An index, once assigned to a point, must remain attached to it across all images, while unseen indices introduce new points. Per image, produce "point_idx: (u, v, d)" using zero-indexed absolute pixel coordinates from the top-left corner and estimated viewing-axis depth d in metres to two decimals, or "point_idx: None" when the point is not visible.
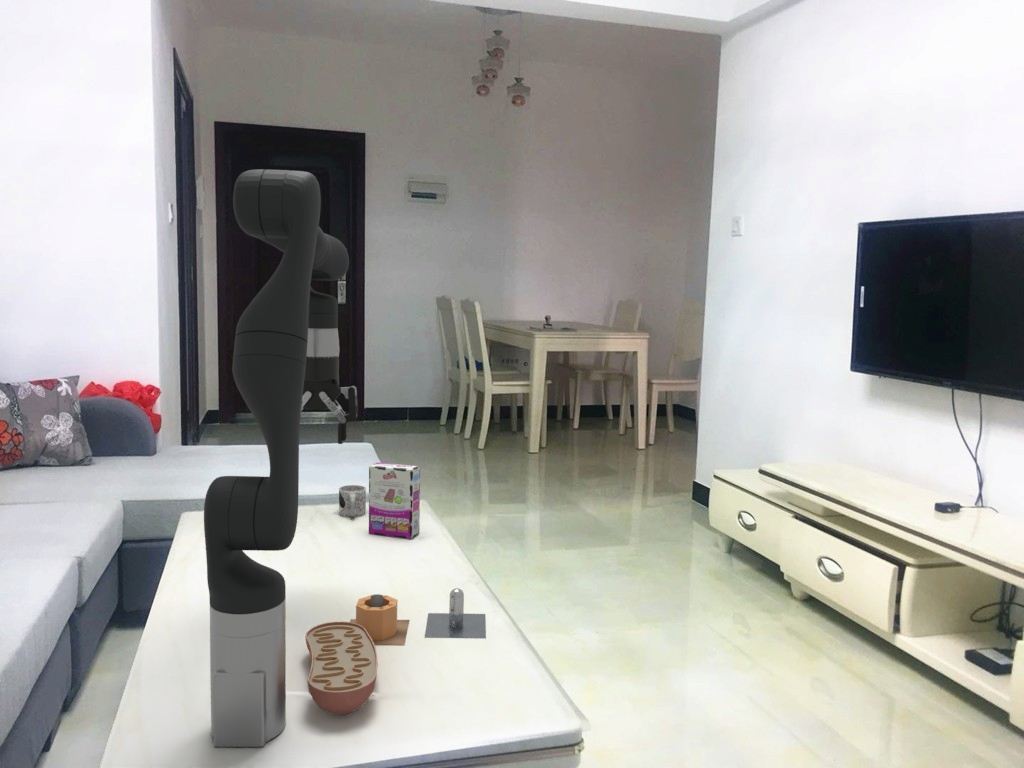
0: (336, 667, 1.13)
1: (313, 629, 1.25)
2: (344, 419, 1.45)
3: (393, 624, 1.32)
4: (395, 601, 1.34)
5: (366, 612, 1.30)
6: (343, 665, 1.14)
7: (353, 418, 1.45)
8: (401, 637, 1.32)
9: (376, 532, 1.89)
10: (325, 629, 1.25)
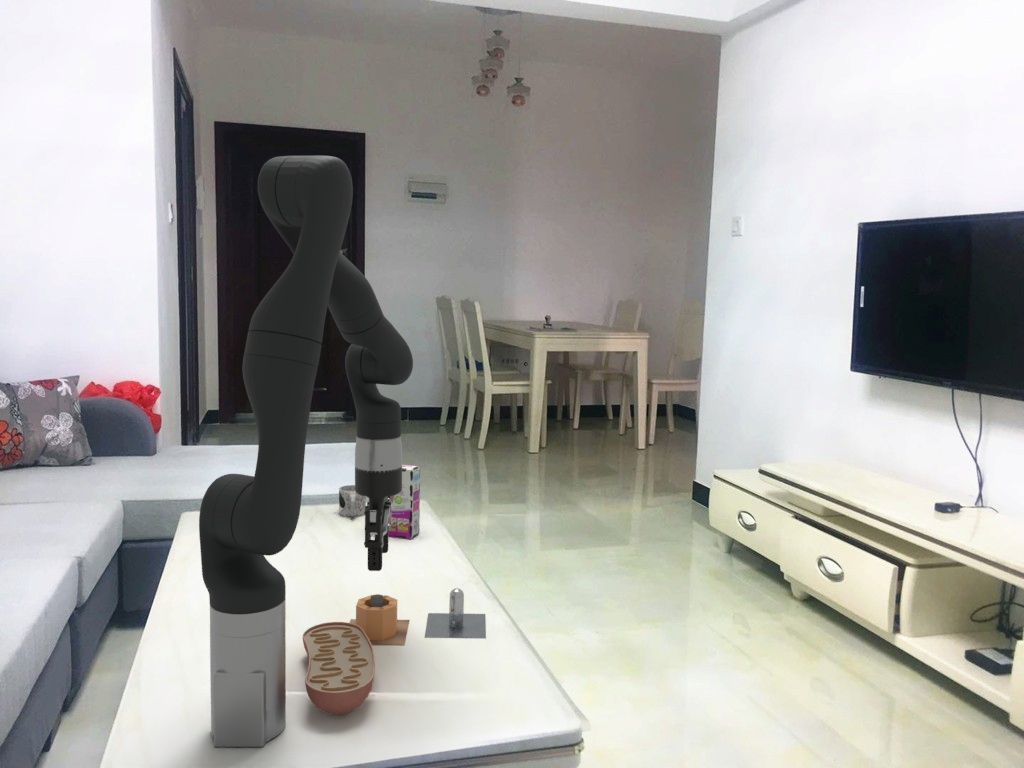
0: (333, 667, 1.13)
1: (310, 629, 1.25)
2: (389, 524, 1.37)
3: (393, 624, 1.32)
4: (395, 601, 1.34)
5: (366, 612, 1.30)
6: (340, 665, 1.14)
7: None
8: (401, 637, 1.32)
9: None
10: (322, 629, 1.25)
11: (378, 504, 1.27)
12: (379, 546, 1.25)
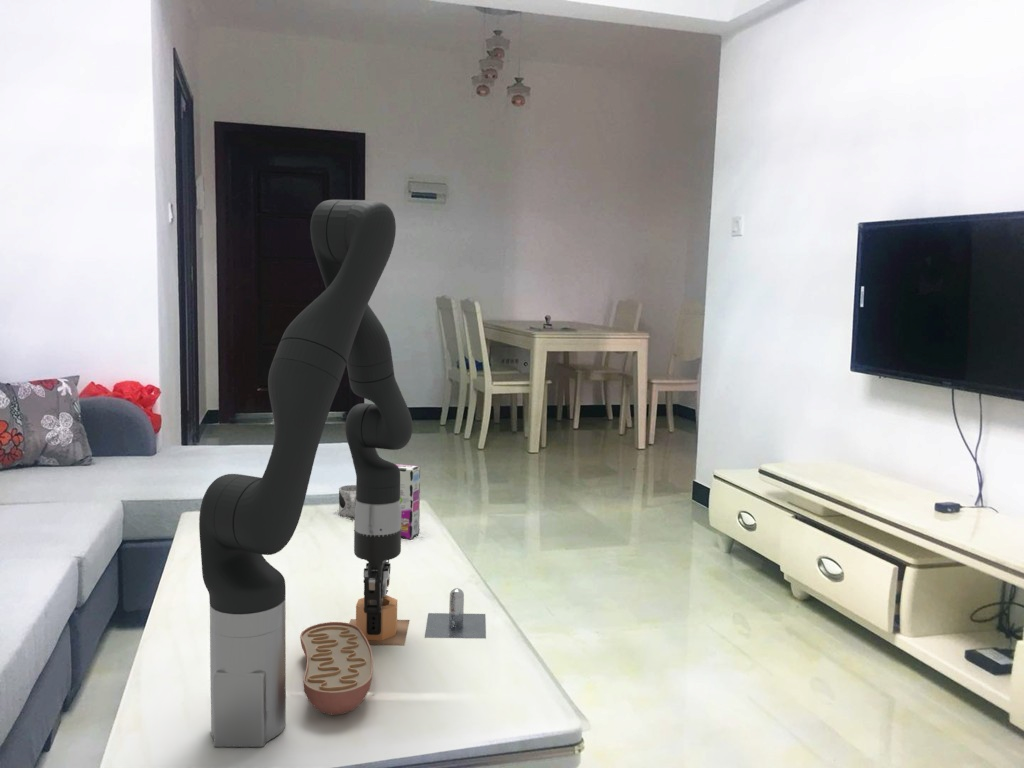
0: (331, 667, 1.13)
1: (308, 630, 1.25)
2: None
3: (393, 624, 1.32)
4: (395, 601, 1.34)
5: None
6: (338, 665, 1.14)
7: None
8: (401, 637, 1.32)
9: None
10: (320, 629, 1.25)
11: (377, 569, 1.28)
12: (378, 612, 1.27)
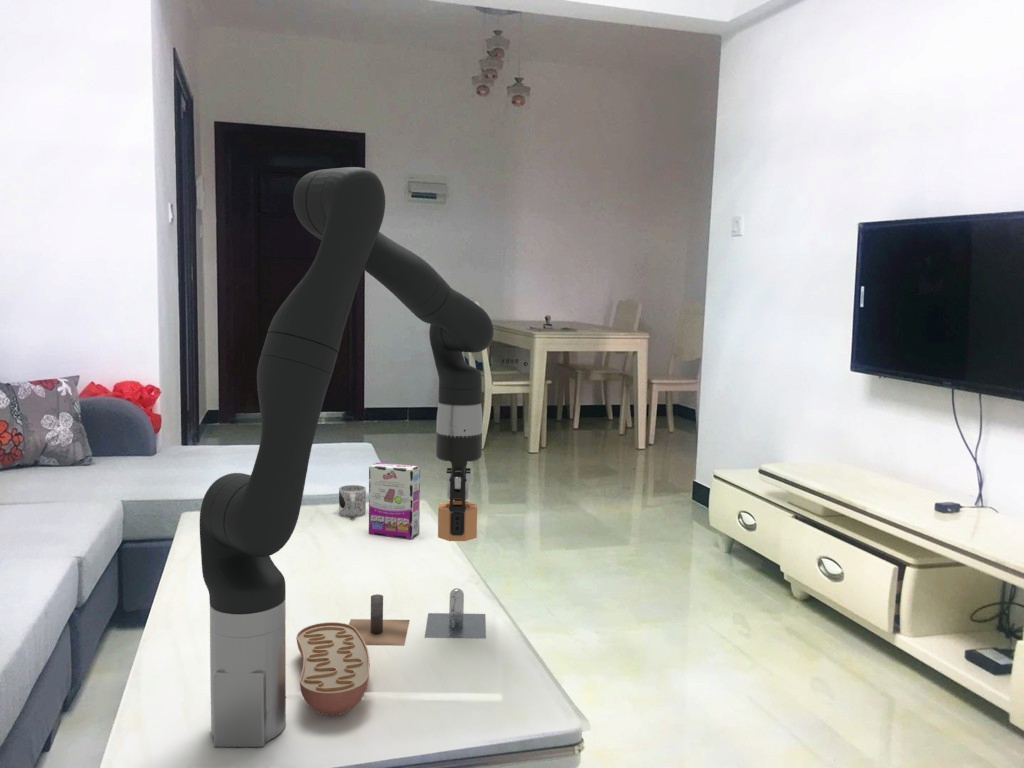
0: (328, 668, 1.12)
1: (304, 630, 1.25)
2: None
3: (475, 526, 1.34)
4: (475, 505, 1.35)
5: (449, 513, 1.32)
6: (335, 666, 1.14)
7: None
8: (401, 637, 1.32)
9: (376, 532, 1.89)
10: (316, 630, 1.25)
11: (461, 469, 1.30)
12: (463, 510, 1.29)
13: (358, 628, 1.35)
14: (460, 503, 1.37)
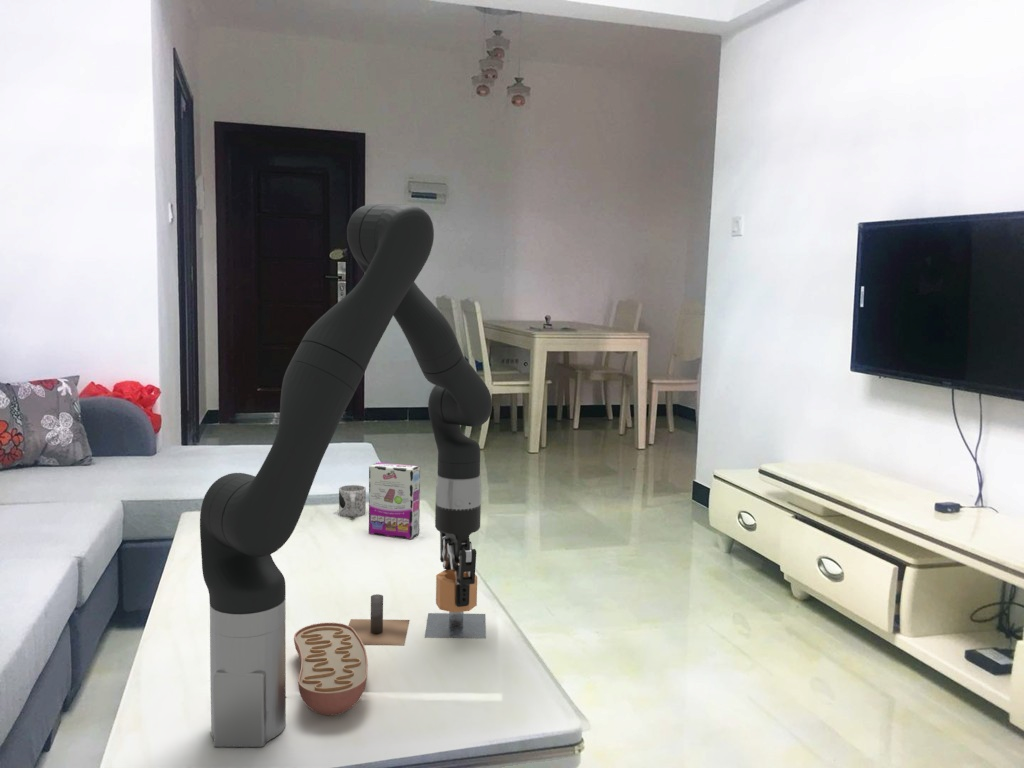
0: (326, 668, 1.12)
1: (301, 630, 1.25)
2: None
3: (475, 595, 1.36)
4: None
5: (454, 585, 1.33)
6: (333, 666, 1.14)
7: None
8: (401, 637, 1.32)
9: (376, 532, 1.89)
10: (313, 630, 1.25)
11: (466, 542, 1.32)
12: (473, 582, 1.31)
13: (358, 628, 1.35)
14: None
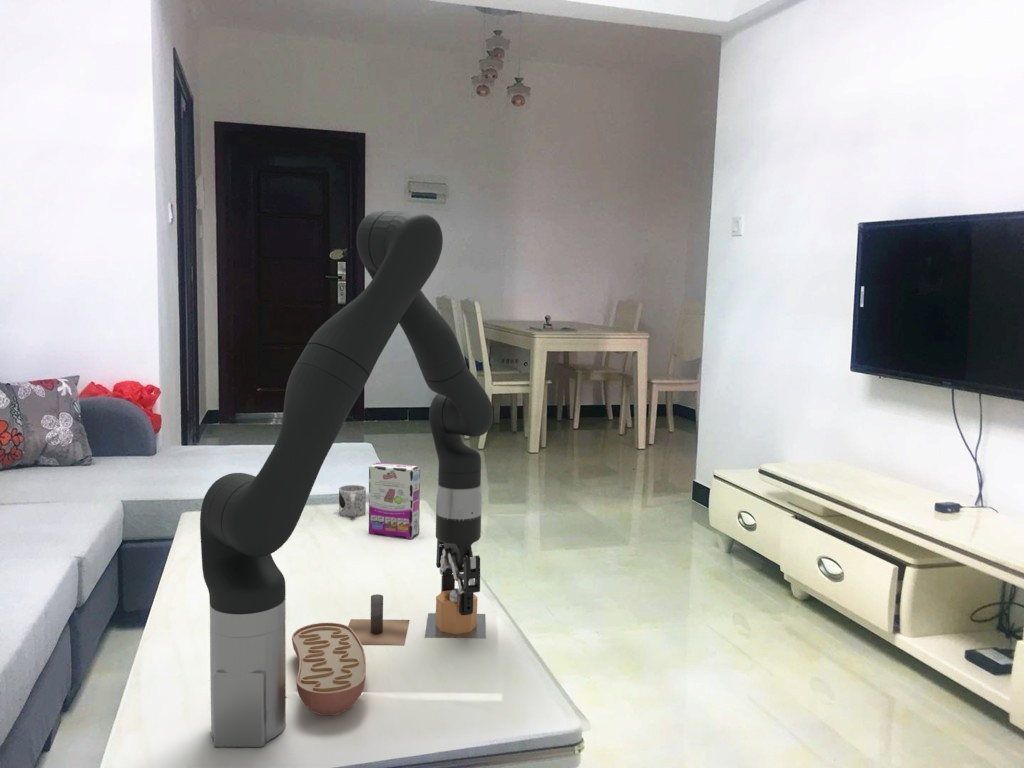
0: (324, 668, 1.12)
1: (299, 630, 1.25)
2: None
3: (476, 615, 1.36)
4: None
5: (456, 607, 1.33)
6: (331, 666, 1.14)
7: None
8: (401, 637, 1.32)
9: (376, 532, 1.89)
10: (311, 630, 1.25)
11: (469, 550, 1.32)
12: (478, 590, 1.30)
13: (358, 628, 1.35)
14: None
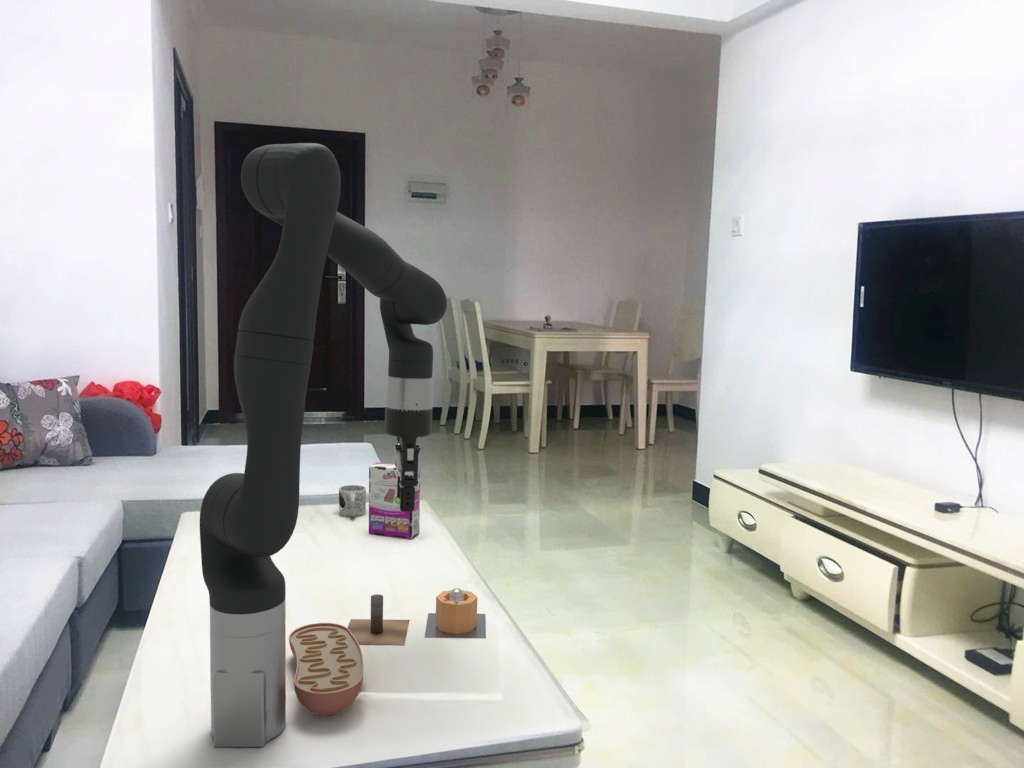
0: (322, 668, 1.12)
1: (296, 631, 1.24)
2: None
3: (476, 615, 1.36)
4: (471, 593, 1.38)
5: (456, 607, 1.33)
6: (329, 666, 1.14)
7: None
8: (401, 637, 1.32)
9: (376, 532, 1.89)
10: (308, 631, 1.25)
11: (412, 444, 1.26)
12: (416, 484, 1.24)
13: (358, 628, 1.35)
14: None
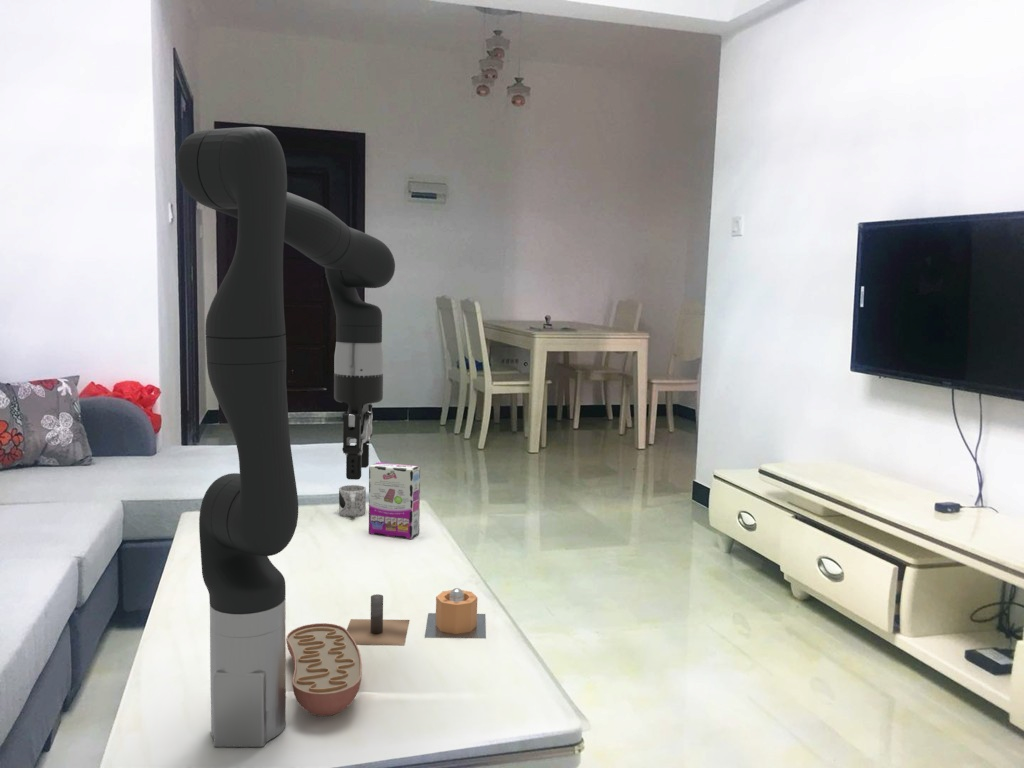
0: (320, 669, 1.12)
1: (293, 631, 1.24)
2: None
3: (476, 615, 1.36)
4: (471, 593, 1.38)
5: (456, 607, 1.33)
6: (327, 667, 1.13)
7: (371, 435, 1.34)
8: (401, 637, 1.32)
9: (376, 532, 1.89)
10: (306, 631, 1.25)
11: (357, 410, 1.23)
12: (358, 451, 1.21)
13: (358, 628, 1.35)
14: None
